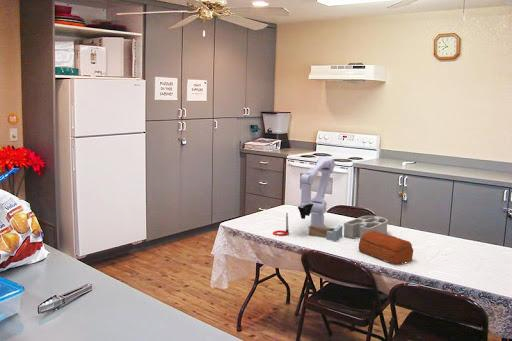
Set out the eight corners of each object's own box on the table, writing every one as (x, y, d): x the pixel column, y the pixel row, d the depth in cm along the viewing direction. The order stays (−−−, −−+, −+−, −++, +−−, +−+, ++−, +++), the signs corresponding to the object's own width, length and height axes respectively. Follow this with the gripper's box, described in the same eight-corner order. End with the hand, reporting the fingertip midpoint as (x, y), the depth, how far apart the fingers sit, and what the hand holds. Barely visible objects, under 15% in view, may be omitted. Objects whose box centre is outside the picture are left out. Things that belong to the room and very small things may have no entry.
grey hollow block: (343, 237, 281) (343, 222, 280) (367, 227, 302) (368, 214, 300) (368, 243, 270) (369, 228, 269) (391, 233, 291) (392, 219, 289)
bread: (396, 266, 236) (397, 245, 234) (355, 251, 257) (356, 232, 255) (416, 260, 244) (417, 240, 243) (375, 246, 266) (376, 227, 264)
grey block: (332, 234, 286) (332, 224, 285) (342, 235, 283) (342, 226, 282) (325, 239, 275) (326, 229, 274) (335, 241, 272) (336, 231, 271)
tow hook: (272, 236, 281) (288, 236, 281) (272, 214, 279) (288, 214, 279) (273, 232, 289) (288, 232, 289) (272, 211, 287) (288, 211, 287)
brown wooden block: (311, 233, 287) (311, 225, 286) (334, 236, 281) (334, 228, 280) (308, 235, 284) (309, 226, 283) (331, 238, 277) (332, 230, 277)
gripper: (308, 197, 275) (307, 220, 277) (316, 193, 288) (315, 215, 290) (296, 196, 278) (295, 219, 280) (305, 191, 291) (304, 213, 293)
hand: (305, 217), depth 285 cm, fingers open, 7 cm apart
